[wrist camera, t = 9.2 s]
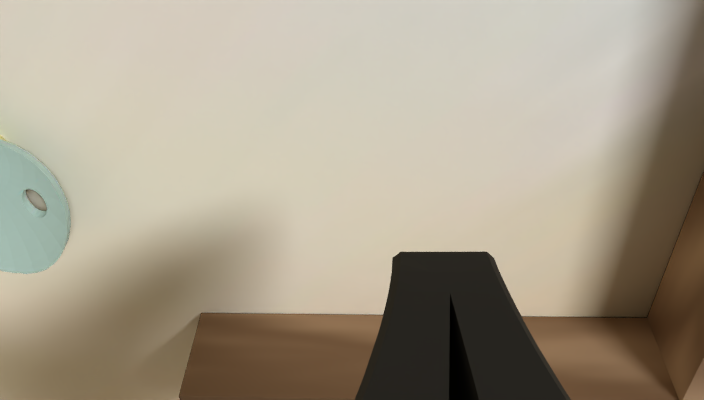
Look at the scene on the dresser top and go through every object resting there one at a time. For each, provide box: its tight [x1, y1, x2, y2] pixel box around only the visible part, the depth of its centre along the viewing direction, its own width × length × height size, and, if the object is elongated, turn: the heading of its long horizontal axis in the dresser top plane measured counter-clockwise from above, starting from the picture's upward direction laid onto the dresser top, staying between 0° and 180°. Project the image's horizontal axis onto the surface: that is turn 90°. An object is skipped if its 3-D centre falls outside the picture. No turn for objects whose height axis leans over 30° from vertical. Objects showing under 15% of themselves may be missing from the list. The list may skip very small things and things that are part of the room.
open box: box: [179, 172, 704, 400], centre depth 17 cm, size 20×17×4 cm
